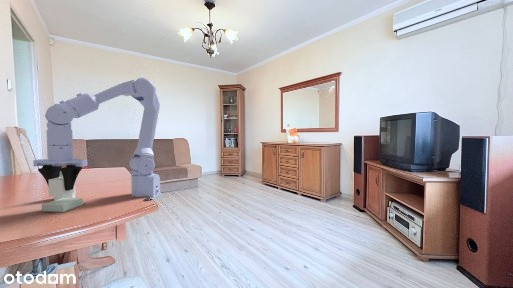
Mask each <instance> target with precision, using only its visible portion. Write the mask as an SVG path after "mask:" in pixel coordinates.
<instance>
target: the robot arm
mask: <svg viewBox="0 0 513 288" xmlns="http://www.w3.org/2000/svg"><path fill="white" fill-rule="evenodd" d="M156 90H157V88H156V86H155V85H154V84H153V83H152V82H151V80H150V79H148V78H145V77H139V78H137V79H132V80H128V81H124V82H121V83H118V84H117V85H114V86H111V87H108V88H107V89H105V90H103V91H100V92H98V93H96V94H90V93H83V94H82V92H80V93H77V94H76V96H75V97H73V98H70V99H68V100H66V101H64V100H60V101H59V103H54V104H53V105H51V106H49V107H48V108H47V110H46V112H45V114H44V118H45V119H46V121H47V123H46V128H47V129H46V150H47V154H46V155H47V159H45V158H43V159H41V158H40V159H34V160H32V162H33V163H32V165H33V167H40V168H37V169H38V170H37V172H39V173H40V175H42V177H43V179H44V181H46V184H47V187H48V188H49V181H48V180H49V179H54V178H58V177H59V175H60V172H61V173H62V175H63V179H64V187H65V191H69V190H72V189H73V188H74V184H75V185H76V181H77V178H78V176H79V174H80V173H81V171H82V170H83V167H87V166H88V164H89V163H88V159H83V158H82V159H79V158H74V144H73V141H74V140H73V129H72V121H73V119H79V118H81V117H84V116H87V115H88V114H90V113H93V112H95V111H98V110H99V107H100V104H103V103H104V102H107V101H110V100H113V99H115V98H117V97H120V96H124V97H129V96H130V97H132V98H134V100H137V102H139V103H140V105H141V106H142V107H143V114H142V118H141V124H140V130H139V134H138V141H137V146H136V148H135V150H134V152H133V155H132V157H131V158H130V160H129V161H128V162H129V168H130V169H131V170H132V172H131V174H130V178H131V179H130V180H131V181H130V183H131V185H130V186H131V187H130V188H131V197H137V198H138V197H145V198H144V199H143V200H146V201H151V200H150V199H152V200H154V199H155V198H157V197H158V196H160V195H161V194H162V192H161V177H160V175H159V174H157V173H154V169H155V167H156V163H155V159H154V157H155V154H154V151H153V146H154V140H155V135H156V129H157V123H158V118H159V113H160V106H161V105H160V101H159V97H158V96H157V93H156V92H157V91H156ZM148 195H149V196H148ZM150 197H151V198H150Z"/></svg>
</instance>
